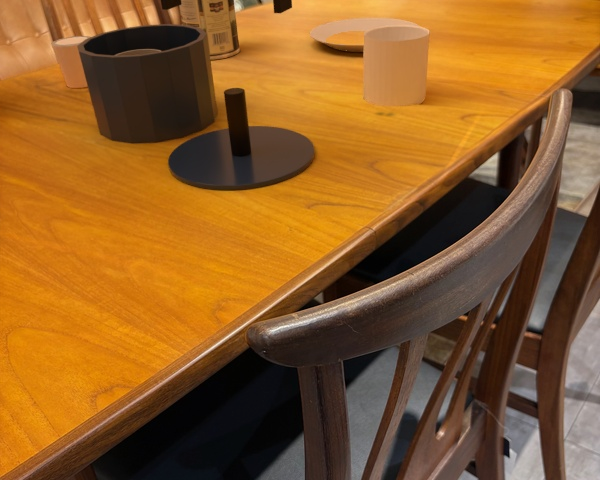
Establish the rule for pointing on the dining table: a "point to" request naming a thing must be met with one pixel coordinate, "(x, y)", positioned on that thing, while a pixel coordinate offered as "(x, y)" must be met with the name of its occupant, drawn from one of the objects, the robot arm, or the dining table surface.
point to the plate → (354, 24)
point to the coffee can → (213, 24)
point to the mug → (395, 65)
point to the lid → (241, 153)
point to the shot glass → (70, 60)
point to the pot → (150, 82)
